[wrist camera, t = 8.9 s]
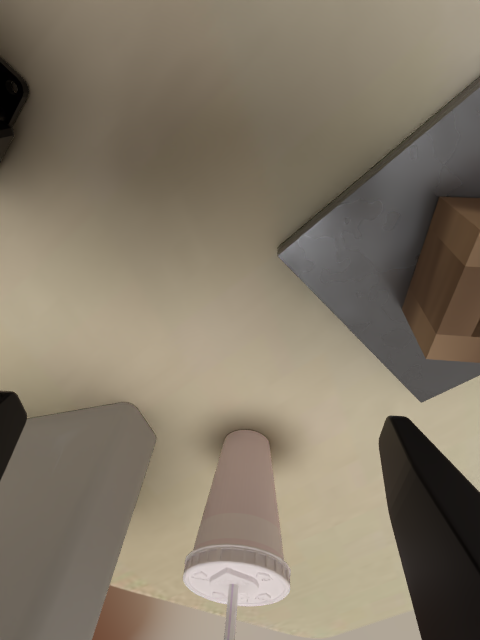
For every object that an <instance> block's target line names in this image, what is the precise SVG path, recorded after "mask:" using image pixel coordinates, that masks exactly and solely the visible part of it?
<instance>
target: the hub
mask: <svg viewBox="0 0 480 640" xmlns="http://www.w3.org/2000/svg"><path fill="white" fill-rule="evenodd" d="M439 197H462V198H480V77H479V78H478V79H476V80H475V81H474V82H473V83H472V84H470V85H469V86H468V87H467V88H466V89H465V90H463V91H462V92H461V93H460V94H459V95H457V96H456V97H455V98H454V99H453V100H452V101H450V102H449V103H448V104H447V105H446V106H445V107H443V108H442V109H441V110H440V111H439V112H437V113H436V114H435V115H434V116H433V117H432V118H430V119H429V120H428V121H427V122H426V123H424V124H423V125H422V126H421V127H420V128H419V129H417V130H416V131H415V132H414V133H413V134H411V135H410V136H409V137H408V138H407V139H406V140H404V141H403V142H402V143H401V144H400V145H399V146H397V147H396V148H395V149H394V150H393V151H391V152H390V153H389V154H388V155H387V156H386V157H384V158H383V159H382V160H381V161H380V162H378V163H377V164H376V165H375V166H374V167H373V168H371V169H370V170H369V171H368V172H367V173H365V174H364V175H363V176H362V177H361V178H360V179H358V180H357V181H356V182H355V183H354V184H353V185H351V186H350V187H349V188H348V189H347V190H345V191H344V192H343V193H342V194H341V195H340V196H338V197H337V198H336V199H335V200H334V201H332V202H331V203H330V204H329V205H328V206H327V207H325V208H324V209H323V210H322V211H321V212H319V213H318V214H317V215H316V216H315V217H314V218H312V219H311V220H310V221H309V222H308V223H307V224H305V225H304V226H303V227H302V228H301V229H299V230H298V231H297V232H296V233H295V234H294V235H292V236H291V237H290V238H289V239H288V240H286V241H285V242H284V243H283V244H282V245H281V246H279V247H278V257H279V258H280V259H281V260H282V261H283V262H284V263H285V264H286V265H287V266H288V267H289V268H290V269H291V270H292V271H293V272H294V273H295V274H296V275H297V276H298V277H299V278H300V279H301V280H302V281H303V282H304V283H305V284H306V285H307V286H308V287H309V288H310V289H311V290H312V292H313V293H314V294H315V295H316V296H317V297H318V298H319V299H320V300H321V301H322V302H323V303H324V304H325V305H326V306H327V307H328V308H329V309H330V310H331V311H332V312H333V313H334V314H335V315H336V316H337V317H338V318H339V319H340V320H341V321H342V322H343V323H344V324H345V325H346V326H347V327H348V328H349V329H350V330H351V331H352V332H353V333H354V334H355V335H356V337H357V338H358V339H359V340H360V341H361V342H362V343H363V344H364V345H365V346H366V347H367V348H368V349H369V350H370V351H371V352H372V353H373V354H374V355H375V356H376V357H377V358H378V359H379V360H380V361H381V362H382V363H383V364H384V365H385V366H386V367H387V368H388V369H389V370H390V371H391V372H392V373H393V374H394V375H395V376H396V377H397V378H398V379H399V381H400V382H401V383H402V384H403V385H404V386H405V387H406V388H407V389H408V390H409V391H410V392H411V393H412V394H413V395H414V396H415V397H416V398H417V399H418V400H419V401H420V402H421V403H422V402H424V401H426V400H428V399H430V398H432V397H434V396H437V395H439V394H441V393H443V392H445V391H447V390H449V389H451V388H454V387H456V386H458V385H460V384H462V383H464V382H466V381H468V380H471V379H473V378H475V377H477V376H479V375H480V363H474V362H460V361H446V360H433V359H426V358H425V356H424V354H423V352H422V350H421V348H420V346H419V344H418V342H417V340H416V338H415V336H414V334H413V332H412V330H411V328H410V326H409V324H408V321H407V319H406V317H405V315H404V313H403V311H402V307H403V304H404V301H405V298H406V295H407V292H408V289H409V286H410V283H411V280H412V277H413V274H414V271H415V268H416V265H417V262H418V259H419V256H420V253H421V250H422V247H423V244H424V241H425V238H426V235H427V232H428V229H429V226H430V223H431V220H432V217H433V214H434V211H435V208H436V205H437V202H438V199H439Z"/></svg>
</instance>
